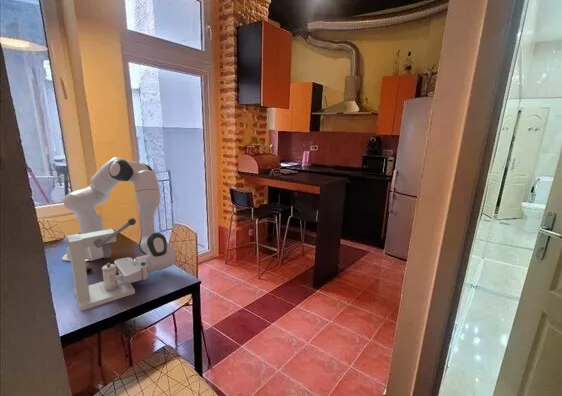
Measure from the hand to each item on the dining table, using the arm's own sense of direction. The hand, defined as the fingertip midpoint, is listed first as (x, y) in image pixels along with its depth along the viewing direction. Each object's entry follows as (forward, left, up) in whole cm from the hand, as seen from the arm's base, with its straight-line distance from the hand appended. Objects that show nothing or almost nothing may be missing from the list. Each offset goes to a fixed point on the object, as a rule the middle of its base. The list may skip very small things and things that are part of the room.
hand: (107, 274), depth 124 cm
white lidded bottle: (+1, +1, -6) cm, 6 cm away
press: (+1, +1, -8) cm, 9 cm away
